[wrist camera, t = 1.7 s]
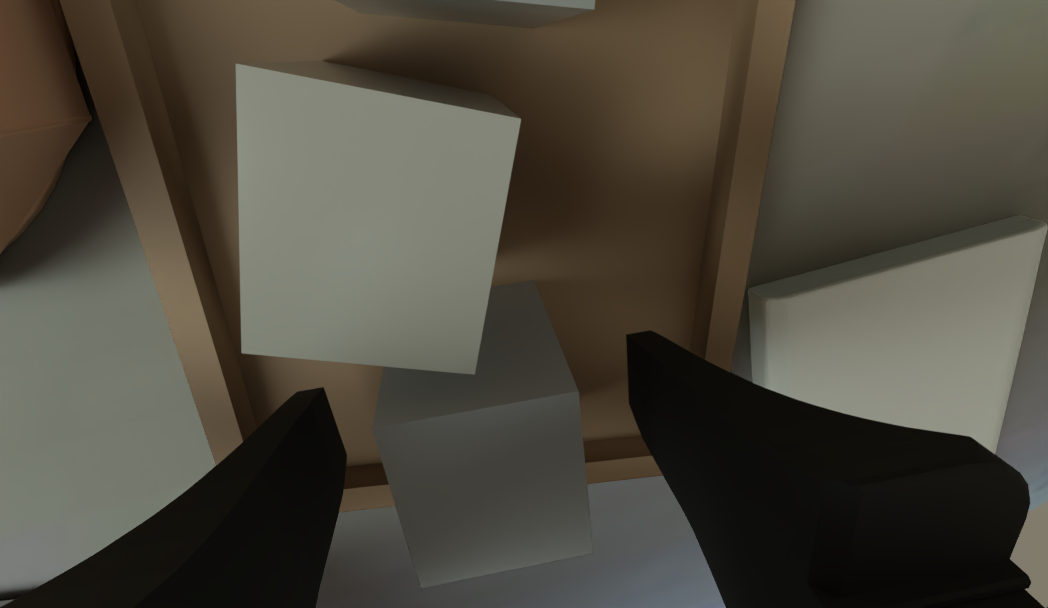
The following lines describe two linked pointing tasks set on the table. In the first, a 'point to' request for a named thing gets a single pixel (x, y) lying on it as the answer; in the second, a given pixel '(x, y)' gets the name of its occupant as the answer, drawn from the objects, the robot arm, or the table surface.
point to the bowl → (34, 108)
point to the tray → (532, 201)
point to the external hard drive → (905, 330)
